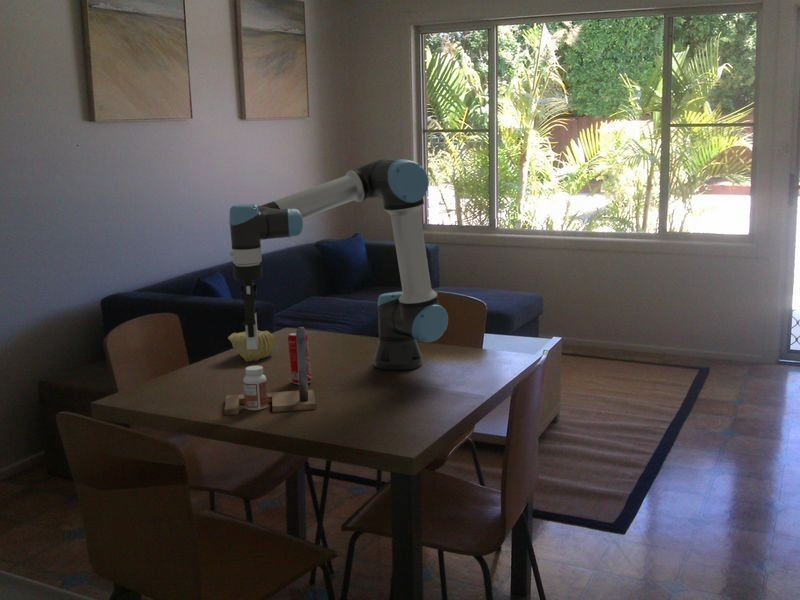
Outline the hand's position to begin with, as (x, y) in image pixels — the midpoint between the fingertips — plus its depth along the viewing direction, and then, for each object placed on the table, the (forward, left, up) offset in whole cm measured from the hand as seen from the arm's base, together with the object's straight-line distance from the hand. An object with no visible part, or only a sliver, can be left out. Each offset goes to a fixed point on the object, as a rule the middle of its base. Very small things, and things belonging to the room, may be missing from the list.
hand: (252, 342), depth 239 cm
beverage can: (-13, -21, -18) cm, 31 cm away
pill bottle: (0, 0, -18) cm, 18 cm away
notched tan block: (-4, -1, -18) cm, 18 cm away
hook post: (-13, +4, -18) cm, 22 cm away
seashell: (+2, -54, -18) cm, 57 cm away
